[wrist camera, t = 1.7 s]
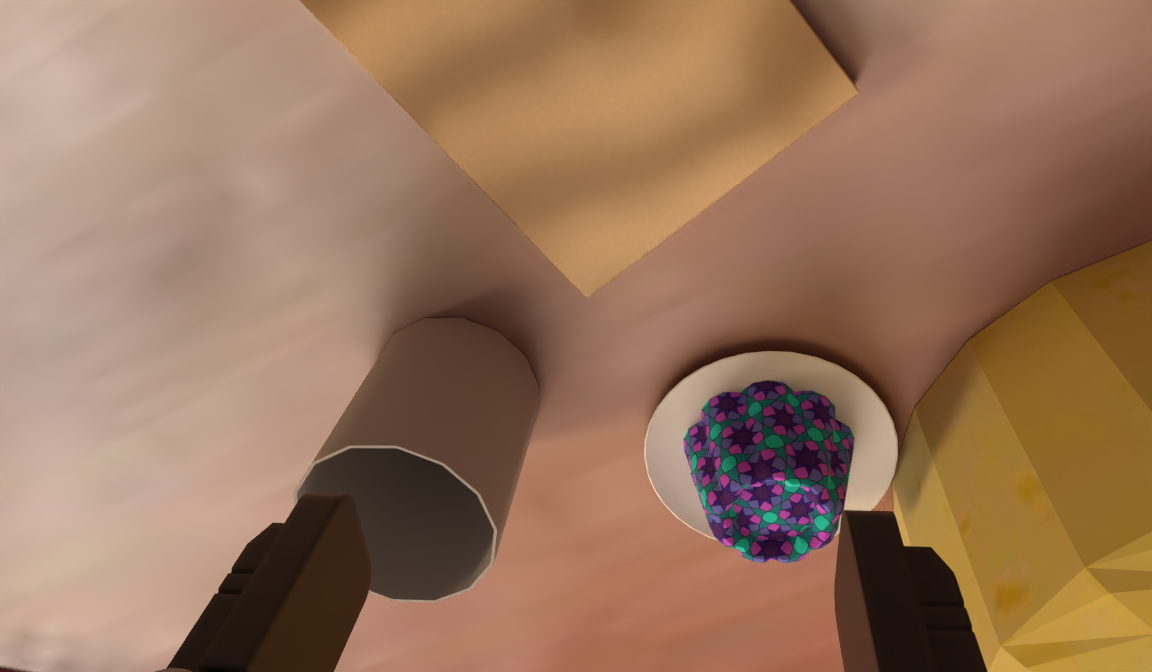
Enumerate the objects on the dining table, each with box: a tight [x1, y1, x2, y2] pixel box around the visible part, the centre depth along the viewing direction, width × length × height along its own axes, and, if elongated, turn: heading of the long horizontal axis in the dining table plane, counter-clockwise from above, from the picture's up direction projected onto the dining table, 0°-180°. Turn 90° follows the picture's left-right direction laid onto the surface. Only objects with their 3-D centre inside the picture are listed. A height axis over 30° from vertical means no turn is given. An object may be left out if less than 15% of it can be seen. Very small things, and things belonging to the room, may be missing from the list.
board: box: [300, 0, 859, 298], centre depth 33 cm, size 20×14×1 cm
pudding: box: [644, 351, 898, 563], centre depth 40 cm, size 12×12×5 cm
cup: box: [294, 317, 540, 602], centre depth 39 cm, size 8×8×10 cm
